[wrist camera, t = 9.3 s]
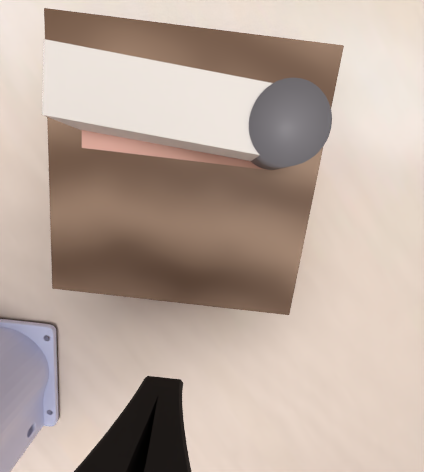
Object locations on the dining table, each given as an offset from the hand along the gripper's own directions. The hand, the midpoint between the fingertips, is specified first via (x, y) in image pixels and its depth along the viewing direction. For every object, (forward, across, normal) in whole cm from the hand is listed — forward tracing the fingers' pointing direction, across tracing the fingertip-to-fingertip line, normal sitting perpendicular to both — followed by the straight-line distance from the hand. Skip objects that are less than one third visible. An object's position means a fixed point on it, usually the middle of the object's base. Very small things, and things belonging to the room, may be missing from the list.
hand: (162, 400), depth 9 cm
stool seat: (+9, +1, -8) cm, 12 cm away
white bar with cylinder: (+7, +1, -11) cm, 13 cm away
